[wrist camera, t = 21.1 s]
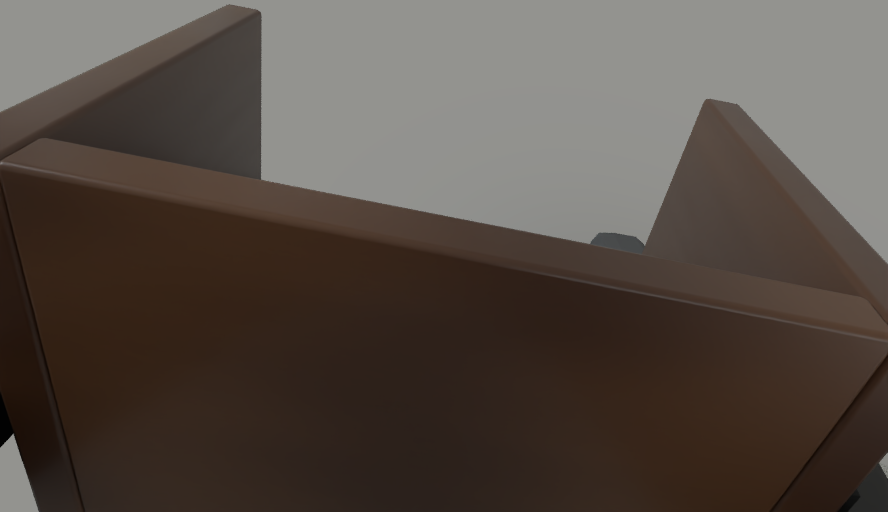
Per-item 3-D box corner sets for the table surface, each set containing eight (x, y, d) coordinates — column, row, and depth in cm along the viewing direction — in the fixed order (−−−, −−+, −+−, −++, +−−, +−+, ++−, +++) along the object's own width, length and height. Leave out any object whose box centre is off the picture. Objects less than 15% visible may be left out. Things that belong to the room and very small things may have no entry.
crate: (96, 698, 10) (-83, 146, 5) (237, 418, 15) (227, 3, 10) (600, 793, 10) (977, 353, 5) (572, 483, 16) (739, 103, 10)
